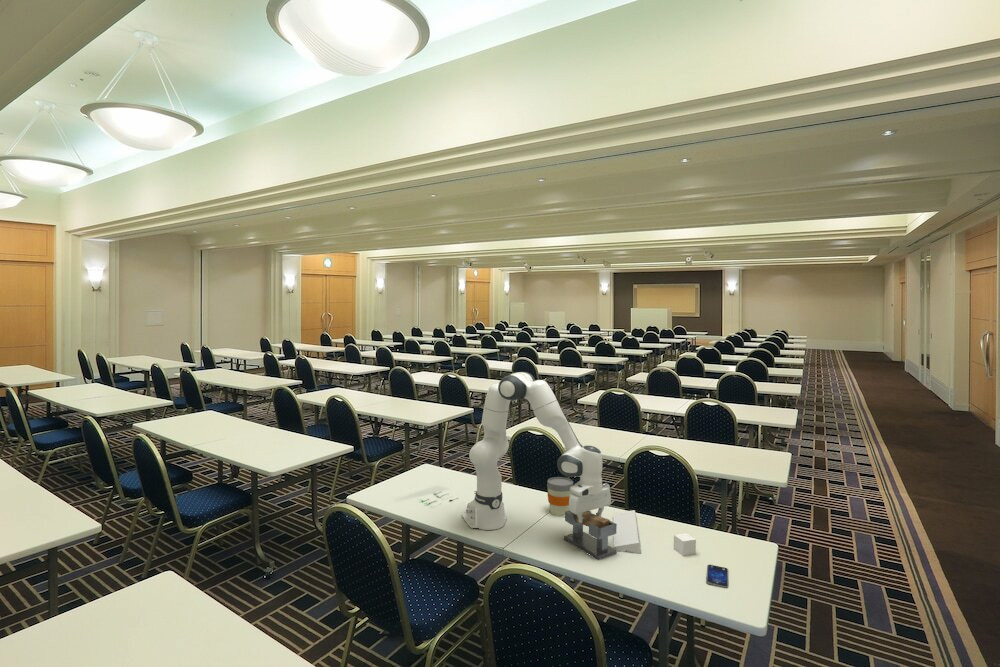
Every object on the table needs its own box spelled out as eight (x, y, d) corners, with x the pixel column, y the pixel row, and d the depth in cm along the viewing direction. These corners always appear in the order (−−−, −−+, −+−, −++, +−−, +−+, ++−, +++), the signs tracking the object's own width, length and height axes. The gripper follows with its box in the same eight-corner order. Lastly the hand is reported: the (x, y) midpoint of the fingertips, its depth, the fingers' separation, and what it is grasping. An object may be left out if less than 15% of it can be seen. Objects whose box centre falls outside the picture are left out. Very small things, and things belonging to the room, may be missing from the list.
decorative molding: (617, 558, 206) (641, 554, 204) (613, 546, 206) (638, 542, 204) (615, 523, 240) (637, 520, 238) (613, 513, 240) (634, 510, 238)
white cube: (685, 547, 210) (686, 533, 210) (695, 554, 205) (696, 539, 204) (673, 549, 209) (673, 534, 208) (682, 556, 203) (683, 541, 203)
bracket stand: (563, 539, 216) (564, 511, 215) (581, 534, 221) (582, 506, 221) (598, 560, 199) (598, 529, 198) (616, 553, 204) (617, 524, 203)
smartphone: (728, 568, 193) (728, 587, 179) (728, 570, 193) (728, 590, 179) (707, 563, 196) (705, 582, 182) (707, 566, 196) (705, 585, 182)
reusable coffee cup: (559, 505, 254) (560, 475, 253) (578, 513, 244) (579, 482, 243) (541, 510, 246) (541, 480, 245) (559, 519, 236) (560, 487, 235)
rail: (571, 520, 214) (571, 510, 214) (577, 517, 217) (577, 508, 216) (603, 532, 202) (603, 522, 202) (609, 529, 205) (609, 519, 205)
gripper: (604, 479, 217) (603, 512, 218) (566, 488, 206) (565, 522, 207) (614, 484, 212) (614, 517, 212) (577, 493, 201) (576, 527, 201)
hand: (590, 519), depth 209 cm, fingers open, 8 cm apart
